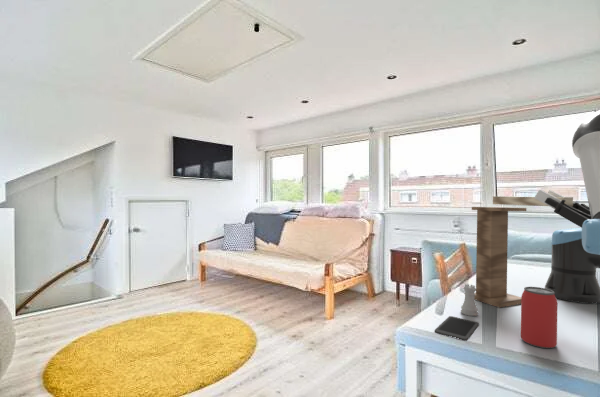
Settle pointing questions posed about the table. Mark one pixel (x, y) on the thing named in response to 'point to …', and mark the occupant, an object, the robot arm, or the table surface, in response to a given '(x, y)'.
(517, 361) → the table surface
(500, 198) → the ash bar
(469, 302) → the rook chess piece
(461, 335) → the cell phone
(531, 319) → the beer can
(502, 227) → the shelf stand
